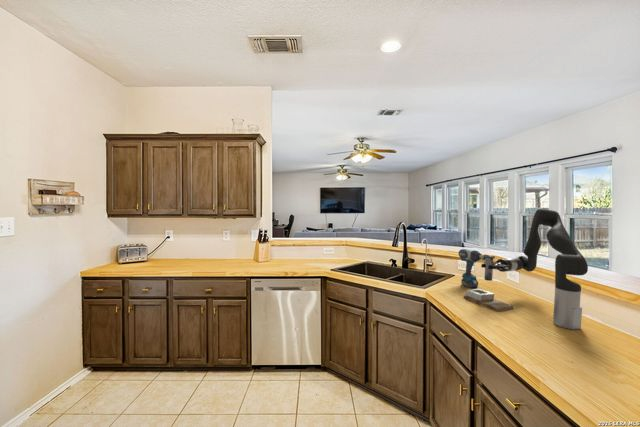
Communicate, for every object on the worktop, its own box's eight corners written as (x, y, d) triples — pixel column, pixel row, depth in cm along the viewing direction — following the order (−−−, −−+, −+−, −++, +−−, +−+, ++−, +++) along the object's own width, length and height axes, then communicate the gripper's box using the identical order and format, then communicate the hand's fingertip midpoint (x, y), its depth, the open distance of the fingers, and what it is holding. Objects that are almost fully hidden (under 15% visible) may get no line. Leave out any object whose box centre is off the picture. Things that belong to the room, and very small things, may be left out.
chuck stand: (513, 308, 158) (513, 299, 158) (497, 311, 154) (497, 301, 154) (478, 296, 179) (478, 288, 179) (463, 298, 175) (463, 289, 174)
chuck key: (495, 280, 170) (496, 256, 169) (490, 281, 168) (491, 256, 168) (485, 278, 176) (486, 254, 175) (480, 278, 175) (481, 254, 174)
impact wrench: (479, 292, 188) (481, 253, 186) (454, 282, 209) (456, 247, 208) (489, 291, 190) (491, 252, 189) (463, 281, 211) (465, 247, 210)
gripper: (496, 256, 183) (475, 257, 177) (518, 261, 170) (496, 262, 164) (495, 268, 183) (474, 270, 177) (517, 274, 170) (496, 275, 164)
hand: (485, 266), depth 171 cm, fingers closed on chuck key, 4 cm apart
